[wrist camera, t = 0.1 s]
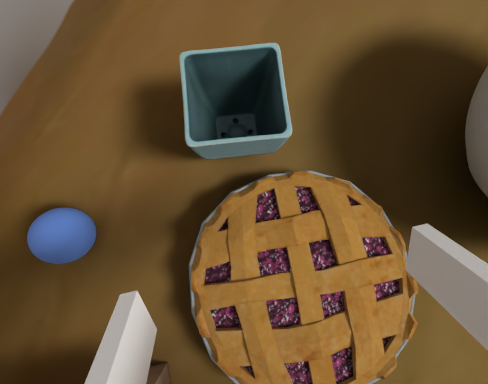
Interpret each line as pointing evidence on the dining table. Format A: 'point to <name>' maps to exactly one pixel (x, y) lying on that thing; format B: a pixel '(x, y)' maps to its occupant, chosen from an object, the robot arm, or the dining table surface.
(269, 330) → the pie
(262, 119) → the flower pot
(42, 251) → the ball
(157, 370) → the bridge
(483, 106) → the decorative bowl
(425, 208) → the dining table surface
